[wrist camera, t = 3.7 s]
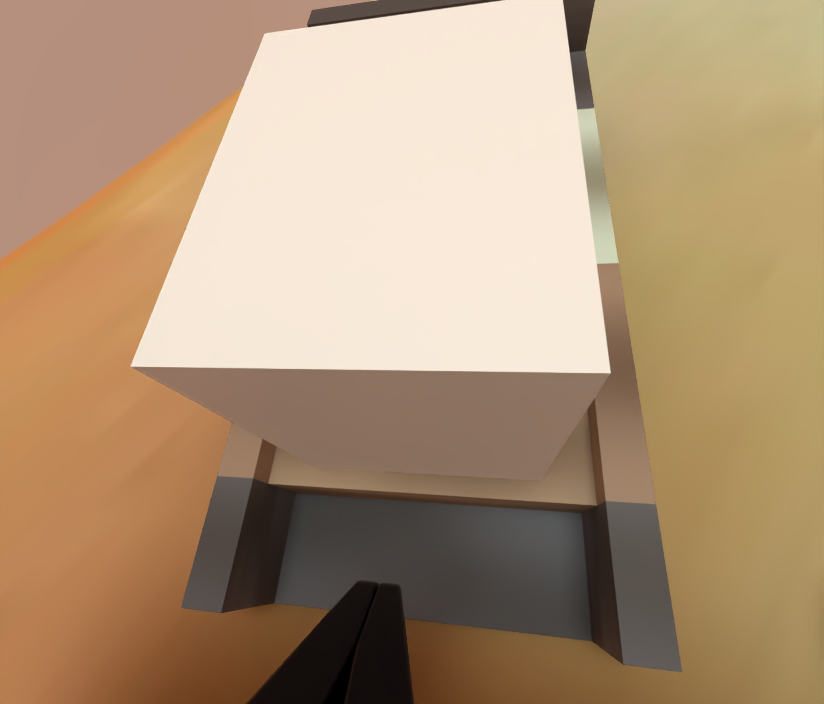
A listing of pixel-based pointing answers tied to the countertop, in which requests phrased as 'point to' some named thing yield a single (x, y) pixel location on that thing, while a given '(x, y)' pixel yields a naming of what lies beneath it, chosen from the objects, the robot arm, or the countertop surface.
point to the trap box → (466, 494)
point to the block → (396, 249)
